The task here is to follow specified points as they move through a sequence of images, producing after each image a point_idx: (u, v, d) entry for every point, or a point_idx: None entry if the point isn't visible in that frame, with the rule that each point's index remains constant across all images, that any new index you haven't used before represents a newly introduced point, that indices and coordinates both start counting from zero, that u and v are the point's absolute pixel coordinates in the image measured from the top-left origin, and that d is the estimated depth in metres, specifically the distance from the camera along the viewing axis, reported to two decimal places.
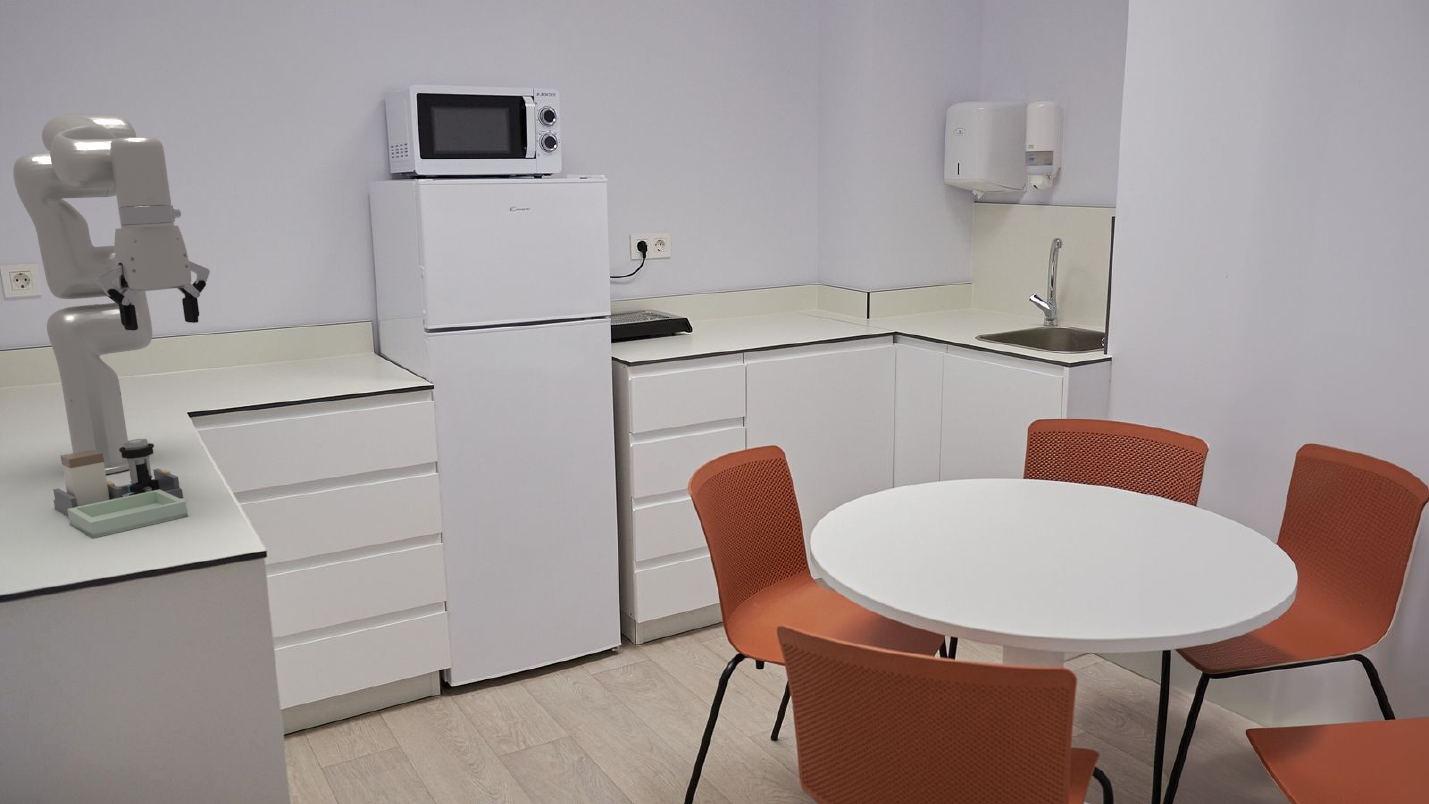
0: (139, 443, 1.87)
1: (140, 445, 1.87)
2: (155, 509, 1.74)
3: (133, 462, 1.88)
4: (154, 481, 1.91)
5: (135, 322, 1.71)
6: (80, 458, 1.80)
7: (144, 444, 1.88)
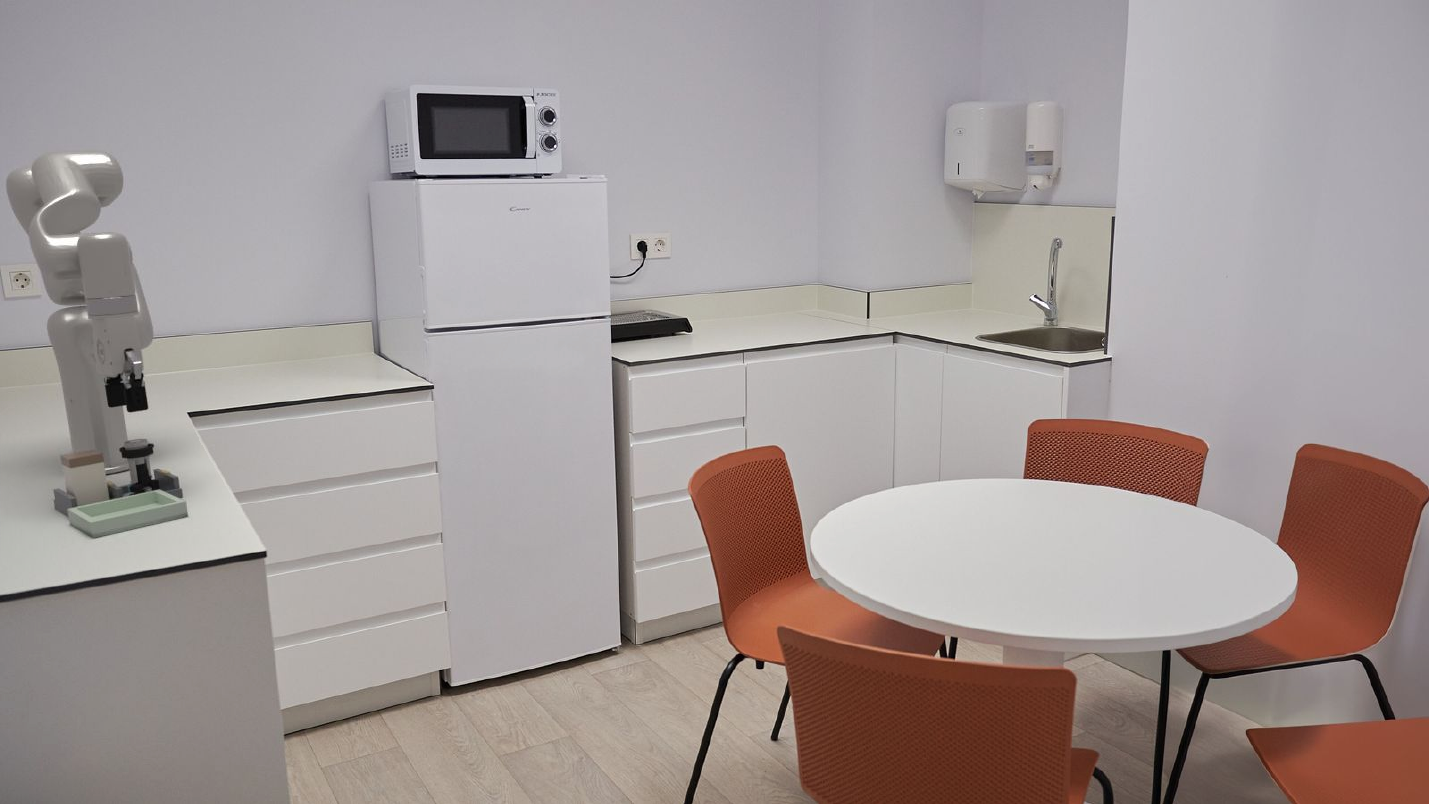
0: (139, 443, 1.87)
1: (140, 445, 1.87)
2: (155, 509, 1.74)
3: (133, 462, 1.88)
4: (154, 481, 1.91)
5: (146, 402, 1.84)
6: (80, 458, 1.80)
7: (144, 444, 1.88)
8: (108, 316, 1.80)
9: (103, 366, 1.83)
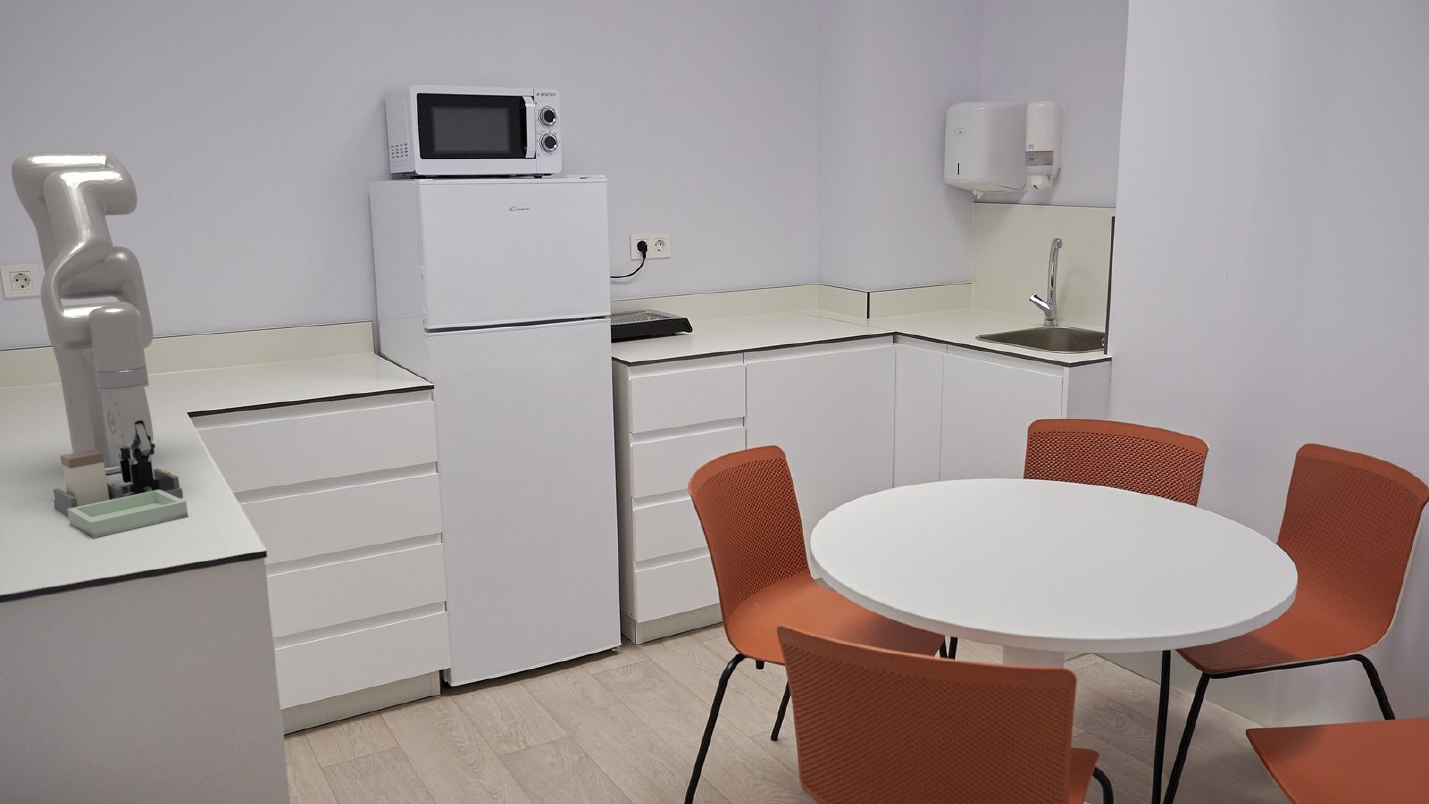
0: None
1: None
2: (155, 509, 1.74)
3: None
4: (154, 481, 1.91)
5: None
6: (80, 458, 1.80)
7: None
8: (119, 389, 1.82)
9: (113, 437, 1.85)
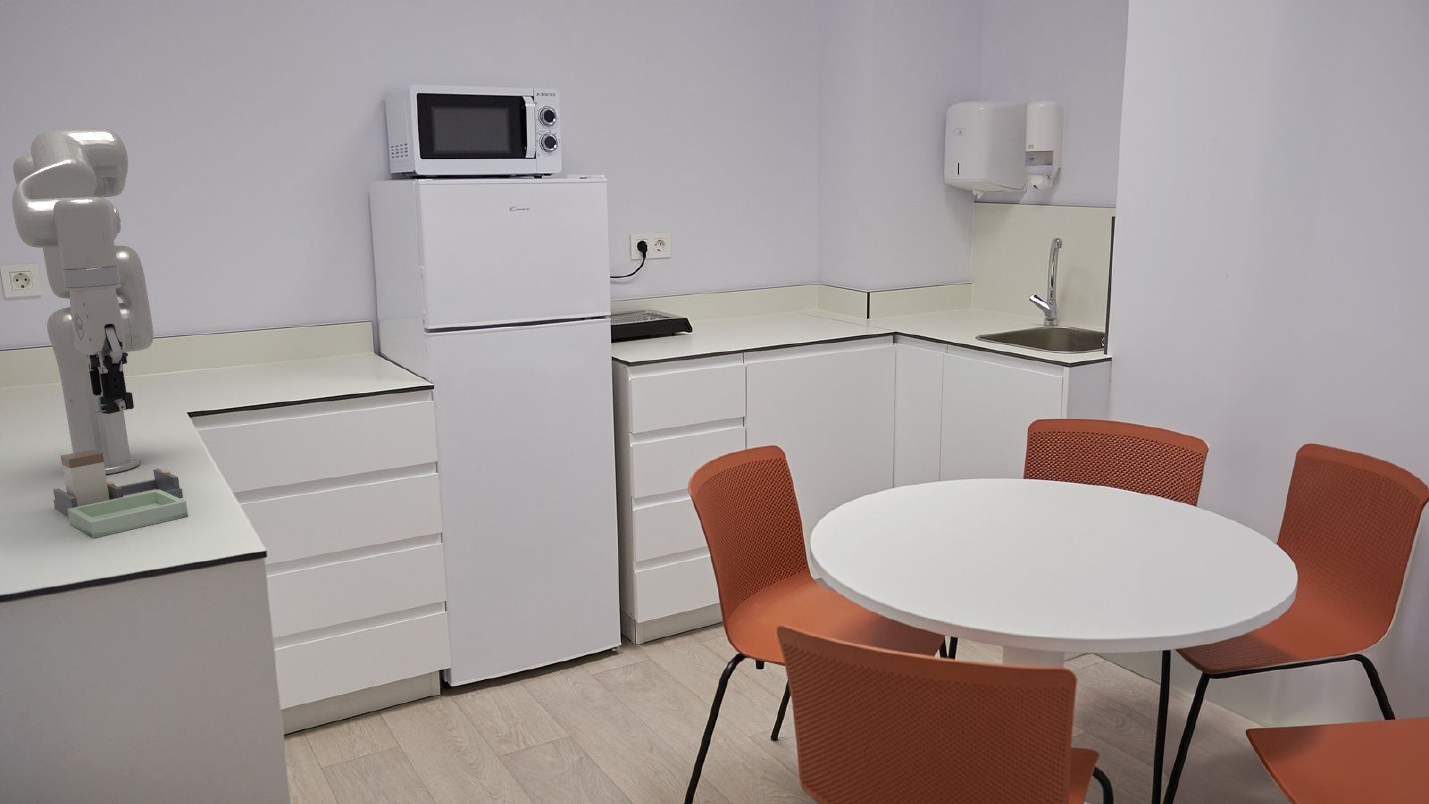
0: None
1: None
2: (155, 509, 1.74)
3: None
4: (127, 394, 1.74)
5: None
6: (80, 458, 1.80)
7: None
8: (87, 288, 1.66)
9: (82, 342, 1.69)
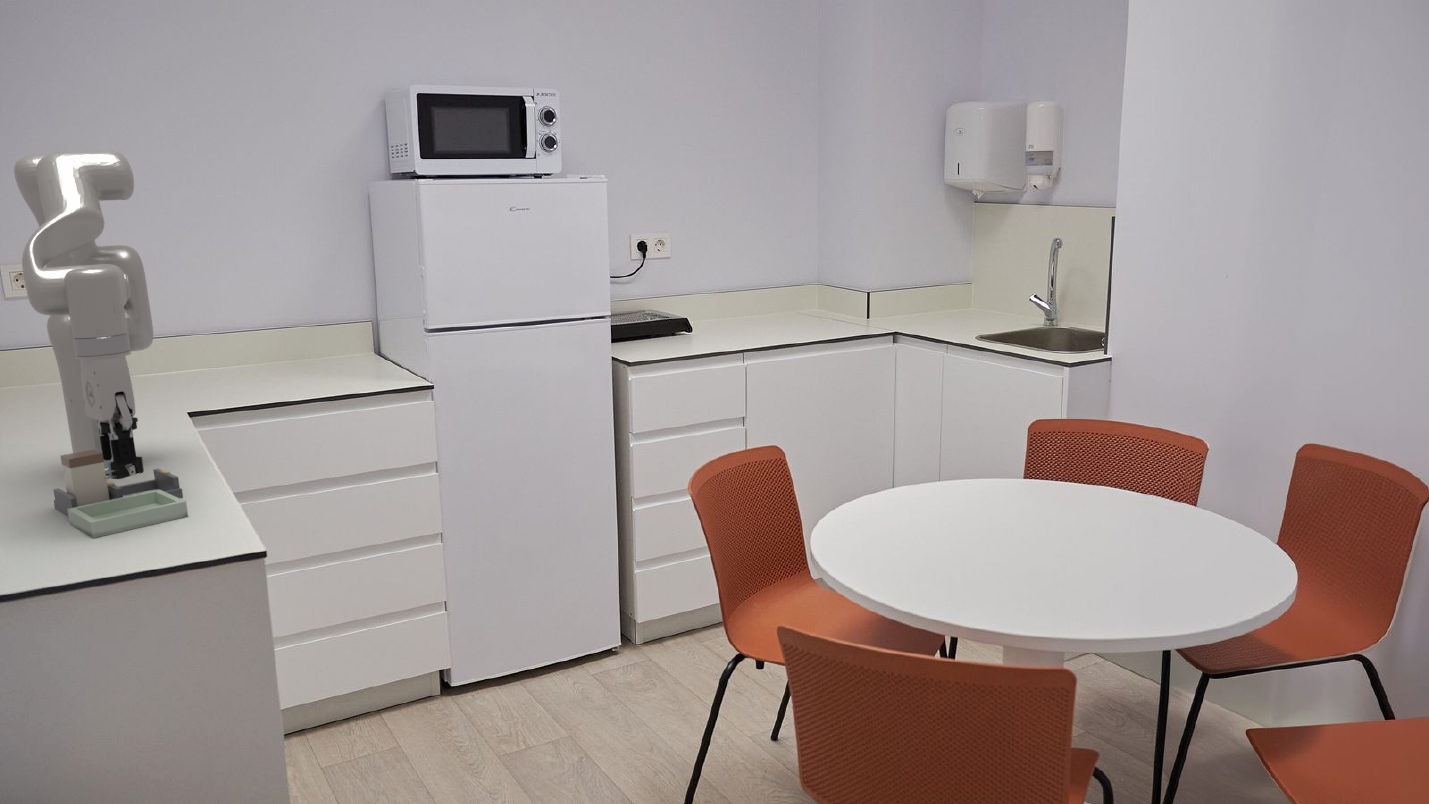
0: None
1: None
2: (155, 509, 1.74)
3: None
4: (137, 458, 1.76)
5: None
6: (80, 458, 1.80)
7: None
8: (98, 357, 1.68)
9: (92, 409, 1.71)
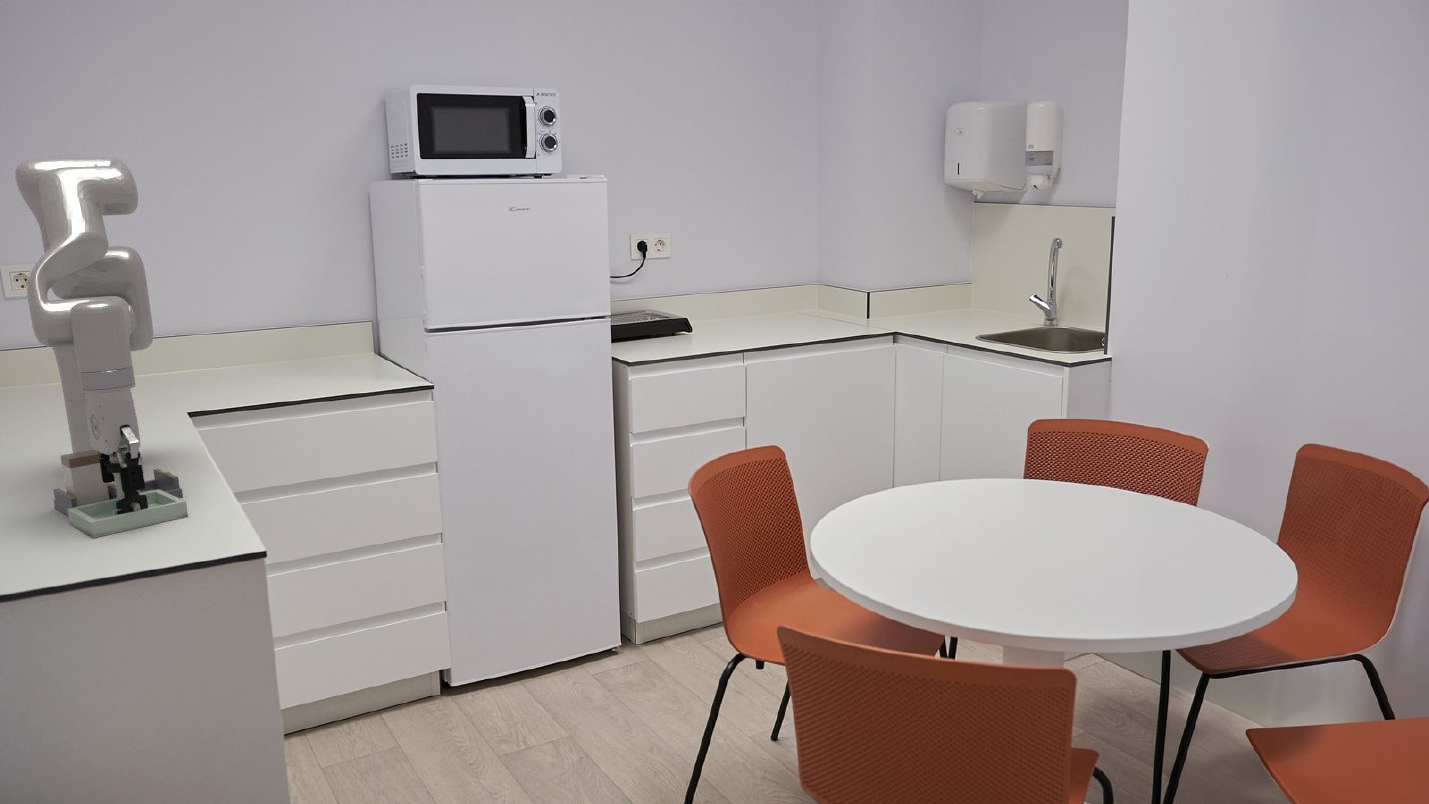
0: None
1: None
2: (155, 509, 1.74)
3: (119, 477, 1.75)
4: (142, 497, 1.78)
5: None
6: (80, 458, 1.80)
7: None
8: (103, 391, 1.69)
9: (97, 442, 1.72)
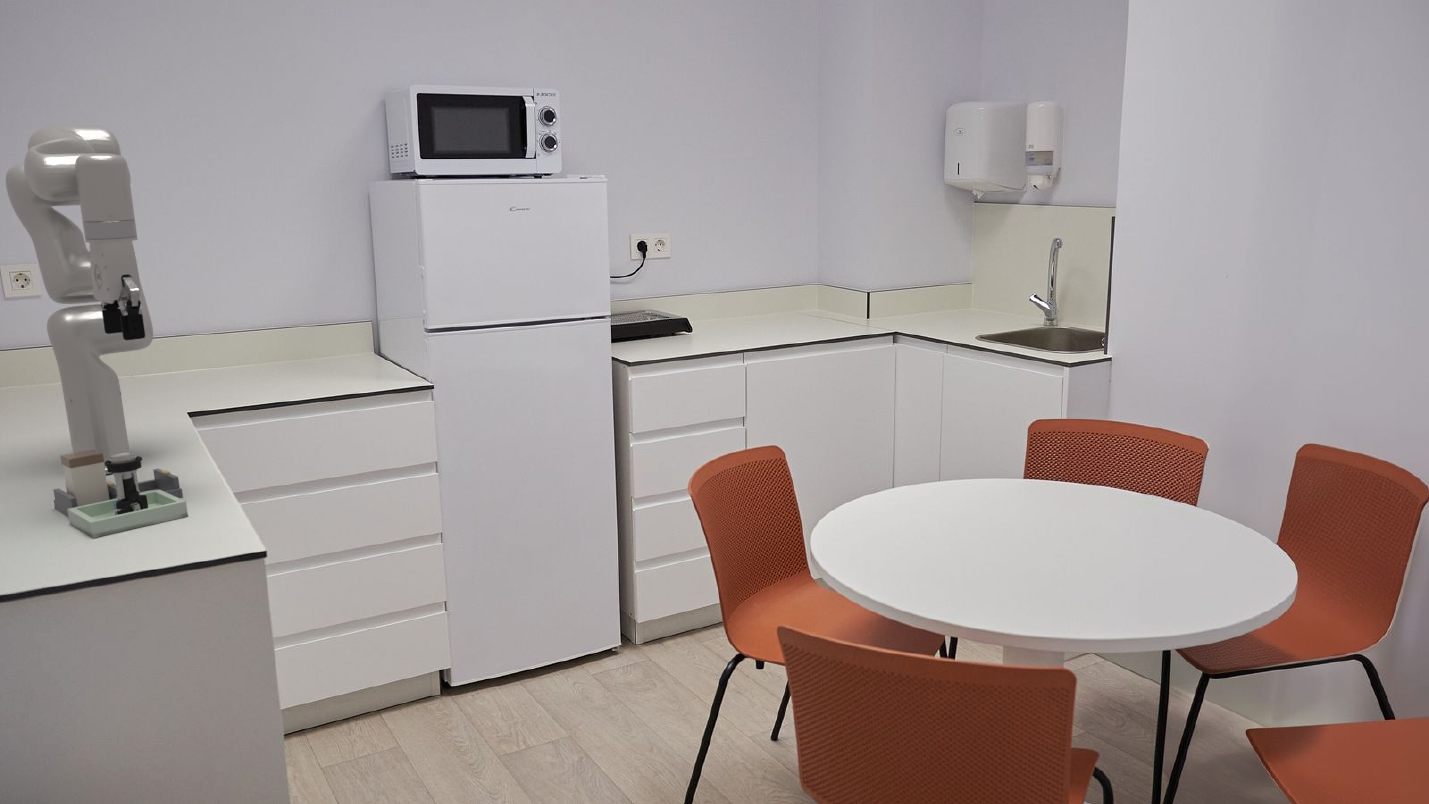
0: (126, 456, 1.75)
1: (127, 458, 1.75)
2: (155, 509, 1.74)
3: (120, 477, 1.75)
4: (142, 497, 1.78)
5: (143, 330, 1.80)
6: (80, 458, 1.80)
7: (131, 457, 1.76)
8: (105, 240, 1.75)
9: (100, 291, 1.79)
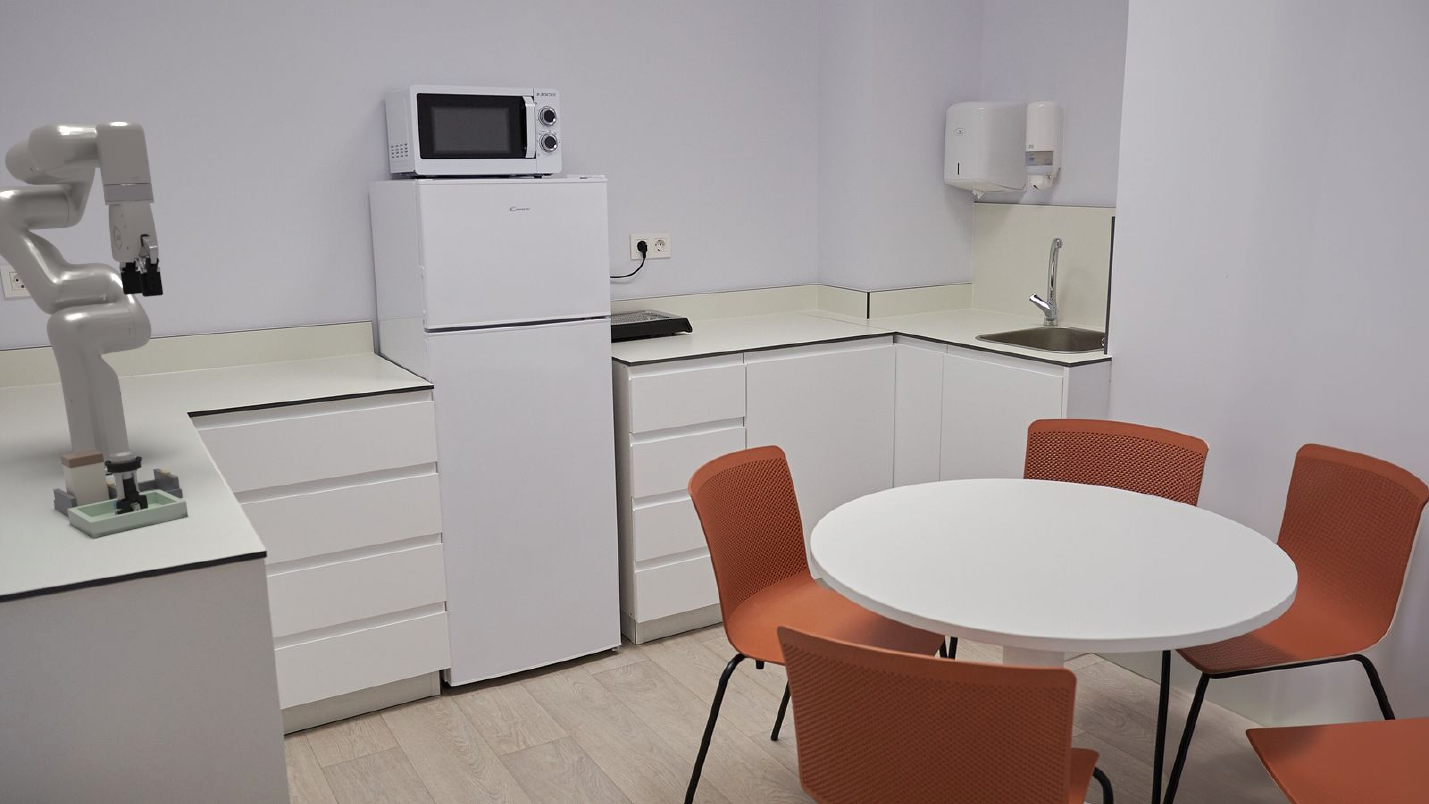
0: (126, 456, 1.75)
1: (127, 458, 1.75)
2: (155, 509, 1.74)
3: (120, 477, 1.75)
4: (142, 497, 1.78)
5: None
6: (80, 458, 1.80)
7: (131, 457, 1.76)
8: (125, 202, 1.86)
9: (119, 252, 1.89)
